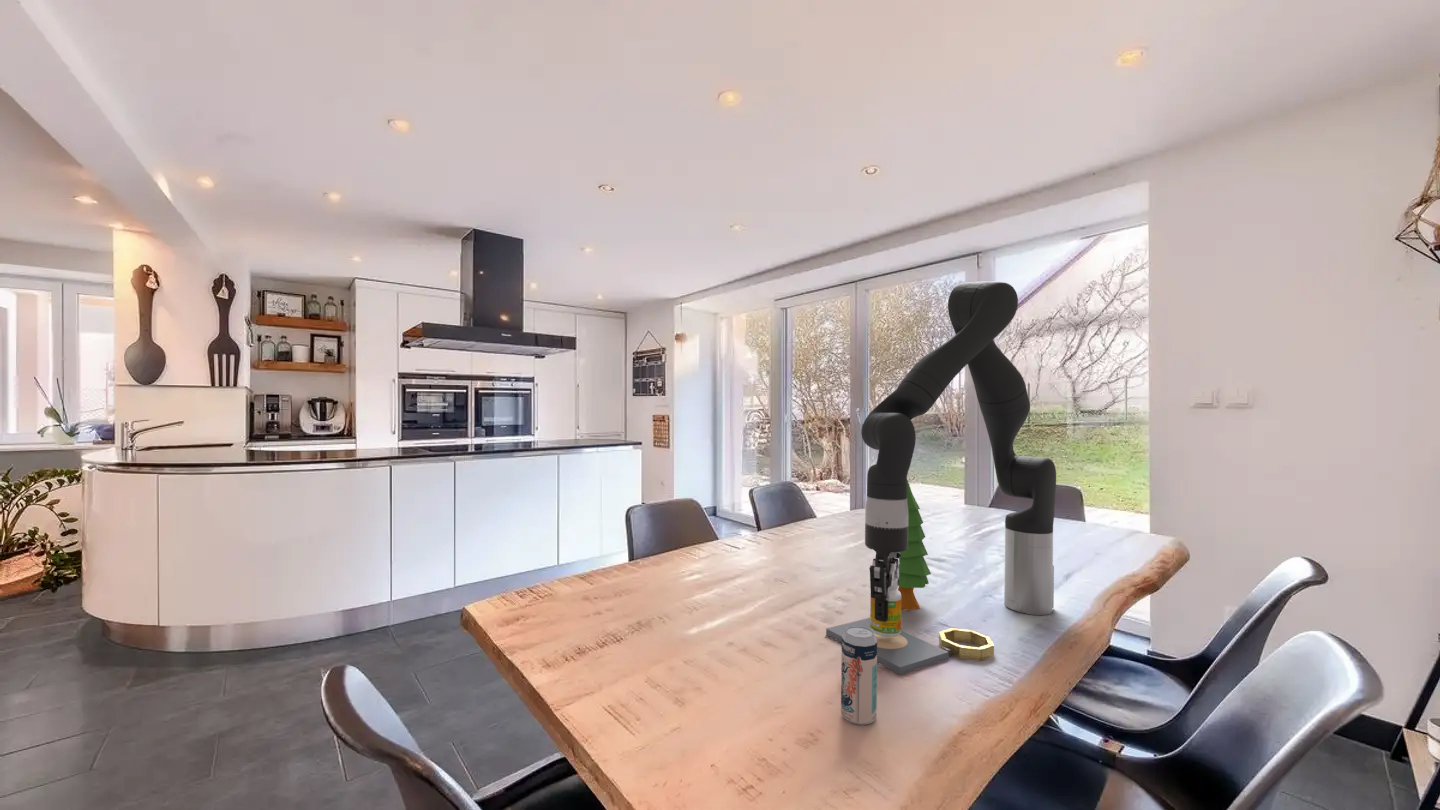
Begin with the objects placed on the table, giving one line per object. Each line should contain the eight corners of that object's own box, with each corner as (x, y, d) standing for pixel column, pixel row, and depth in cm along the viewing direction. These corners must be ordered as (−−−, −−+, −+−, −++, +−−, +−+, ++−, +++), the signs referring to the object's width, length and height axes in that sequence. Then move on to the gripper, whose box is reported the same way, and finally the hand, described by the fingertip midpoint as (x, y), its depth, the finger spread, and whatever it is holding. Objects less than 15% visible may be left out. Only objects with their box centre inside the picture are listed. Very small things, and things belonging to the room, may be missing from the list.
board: (871, 623, 111) (871, 616, 111) (948, 658, 96) (948, 651, 96) (826, 634, 105) (826, 627, 105) (900, 674, 90) (900, 666, 90)
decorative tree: (876, 603, 123) (878, 468, 123) (899, 594, 129) (901, 466, 129) (916, 616, 115) (918, 472, 116) (939, 606, 121) (940, 470, 122)
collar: (964, 634, 106) (964, 624, 106) (1006, 652, 98) (1006, 641, 98) (925, 646, 100) (925, 635, 100) (967, 666, 93) (967, 654, 93)
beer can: (836, 709, 79) (837, 625, 79) (869, 708, 79) (870, 624, 80) (847, 728, 74) (848, 639, 74) (881, 727, 75) (882, 638, 75)
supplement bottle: (881, 639, 97) (882, 583, 97) (864, 627, 102) (864, 574, 102) (907, 635, 99) (907, 581, 99) (889, 624, 104) (889, 572, 104)
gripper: (899, 531, 92) (898, 633, 92) (915, 517, 105) (914, 607, 105) (854, 526, 96) (853, 624, 96) (875, 513, 109) (874, 599, 108)
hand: (885, 614), depth 100 cm, fingers closed on supplement bottle, 5 cm apart
